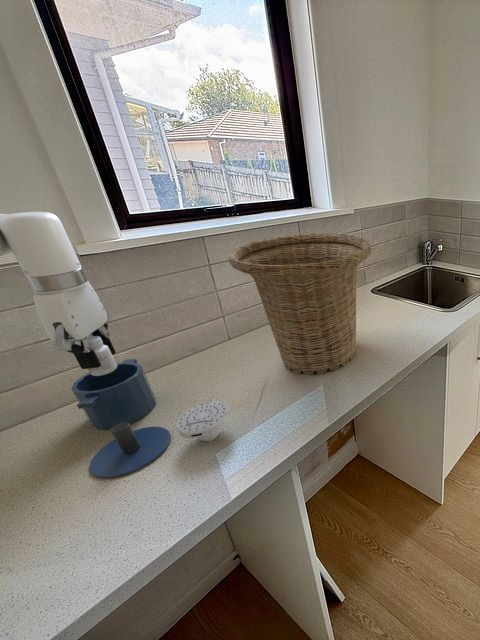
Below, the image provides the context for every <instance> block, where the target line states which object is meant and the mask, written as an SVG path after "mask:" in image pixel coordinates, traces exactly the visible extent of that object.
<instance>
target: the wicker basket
mask: <svg viewBox="0 0 480 640" xmlns="http://www.w3.org/2000/svg"><path fill="white" fill-rule="evenodd" d="M371 252H372V245H371V243H370V242H369V241H368V240H367V239H365V238H362V237H358V236H355V235H350V234H344V233H343V234H342V233H327V232H326V233H325V232H324V233H323V232H322V233H321V232H320V233H317V232H316V233H315V232H314V233H298V234H297V233H296V234H287V235H286V234H285V235H279V236H278V235H277V236H272V237H267V238H262V239H257V240H253V241H250V242H249V241H248V242H246V243H243V244H240V245H238V246H236V247H235V248H233V249H231V250H230V251H229V253H228V257H227V258H228V263H229V264H230V266H231V267H232V268H233V269H235V270H237V271H239V272H241V273H243V274H247V275H249V276H251V278H252V279H253V281H254V283H255V286H256V289H257V292H258V295H259V298H260V301H261V303H262V306H263V309H264V311H265V315H266V317H267V320H268V323H269V326H270V329H271V332H272V335H273V337H274V341H275V343H276V347H277V349H278V352H279V354H280V357H281V360H282V363H283V365H284V366H285V367H286V369H287V370H289V371H291V370H292V372H294V373H295V374H301V373H303V374H304V375H306V376H307V375H313V374H314V372H316V373H317V374H320V375H323V374H325V373H326V372H327V371H328V369H329V370H330V371H332V372H333V371H336V370H338V369H339V368H340V366H346V365H347V364H348V363H349V361H350V360H353V359H354V357H355V354H356V352H357V351H356V349H357V344H356V343H357V271H358V266H359V265H360V264H361V263H363V262H364V261H365V260H367V259H368V258H369V257H370V255H371Z"/></svg>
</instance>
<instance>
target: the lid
mask: <svg viewBox="0 0 480 640" xmlns="http://www.w3.org/2000/svg"><path fill="white" fill-rule="evenodd" d="M110 433H111V435H112V436H113V438H114V439H113V440H111V441H109V442H108V443H107V444H105V445H104V446H102V448H100V449H99V450H98V451H97V452H96V453H95V454H94V455H93V457H92V458H91V460H90V461H89V471H90V473H91V474H92V476H94V477H96V478H99V479H115V478H120V477H124V476H127V475H129V474H133V473H135V472H137V471H140V470H142V469H143V468H145V467H147V466H148V465H150V464H152V463H153V462H154V461H156V460H157V459H158V458H159V457H160V456H162V455H163V454H164V453H165V452H166V451H167V449H168V447H169V446H170V444H171V441H172V435H171V432H170V431H169V430H168V429H166V428H165V427H162V426H148V427H147V426H146V427H142V428H138V429H134V430H133V428H132V426H131V424H129V423H128V422H122V423H119V424H117V425H115V426H113V427H112V428H111V430H110Z"/></svg>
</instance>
